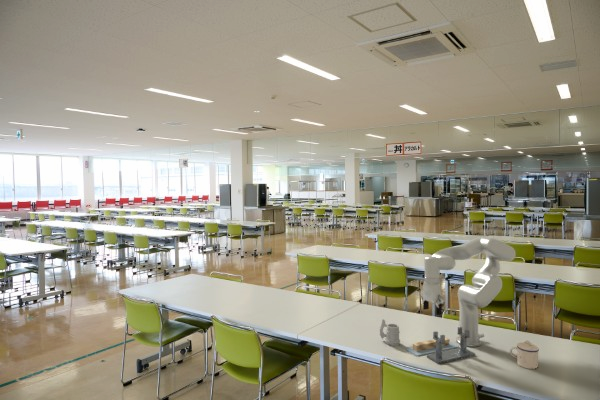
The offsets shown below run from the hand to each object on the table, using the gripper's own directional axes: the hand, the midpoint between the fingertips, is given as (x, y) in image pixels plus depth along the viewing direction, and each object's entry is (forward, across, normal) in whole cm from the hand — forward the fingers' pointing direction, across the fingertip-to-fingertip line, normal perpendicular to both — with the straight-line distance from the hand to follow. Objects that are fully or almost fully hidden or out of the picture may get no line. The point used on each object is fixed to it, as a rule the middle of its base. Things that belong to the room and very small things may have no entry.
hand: (432, 311), depth 203 cm
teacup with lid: (+20, +32, +27) cm, 47 cm away
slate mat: (+19, 0, -1) cm, 19 cm away
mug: (+19, -15, -17) cm, 30 cm away
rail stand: (+20, +12, +1) cm, 23 cm away
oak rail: (+17, 0, -1) cm, 17 cm away
